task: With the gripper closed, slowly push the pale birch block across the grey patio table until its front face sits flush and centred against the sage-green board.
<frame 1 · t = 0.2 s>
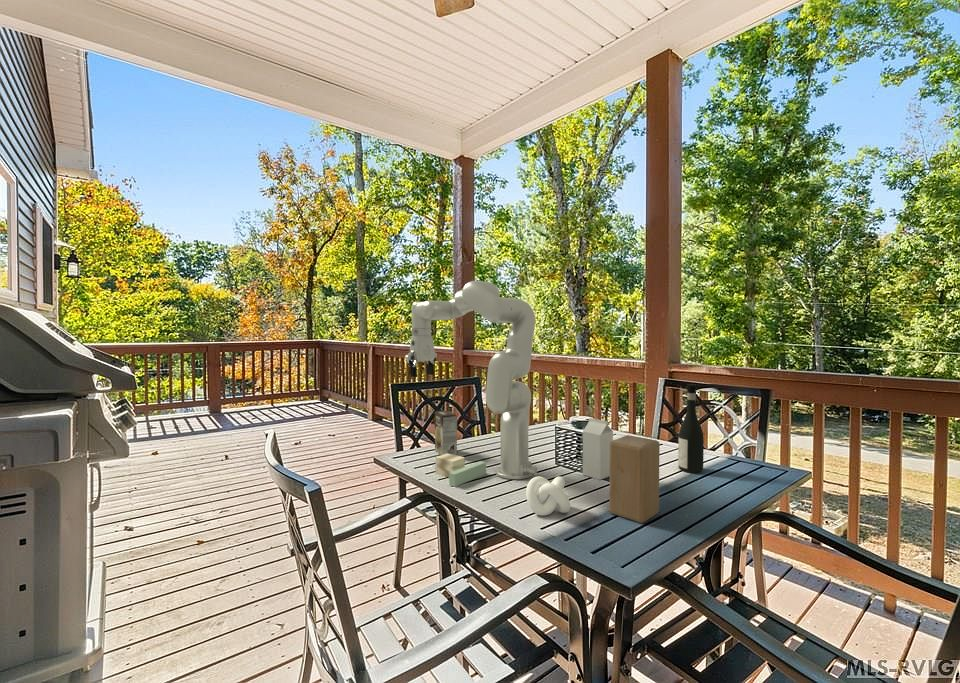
hand: (421, 375, 183), 31 cm above the table, tool pointing down, fingers open, 9 cm apart
pretzel: (549, 510, 127), on the table
wine bottle: (690, 470, 160), on the table
milk carton: (597, 475, 155), on the table
birch block: (450, 474, 157), on the table
board: (468, 479, 152), on the table
wooden block: (634, 514, 124), on the table
coffee box: (445, 453, 183), on the table
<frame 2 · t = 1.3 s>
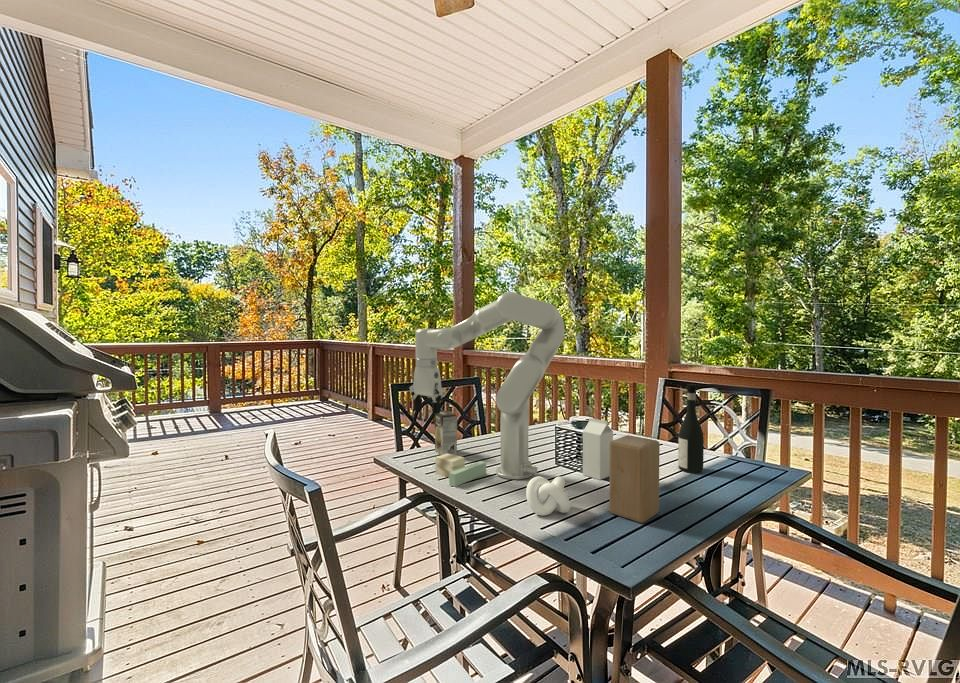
hand: (427, 411, 163), 20 cm above the table, tool pointing down, fingers open, 8 cm apart
nothing on the table moved.
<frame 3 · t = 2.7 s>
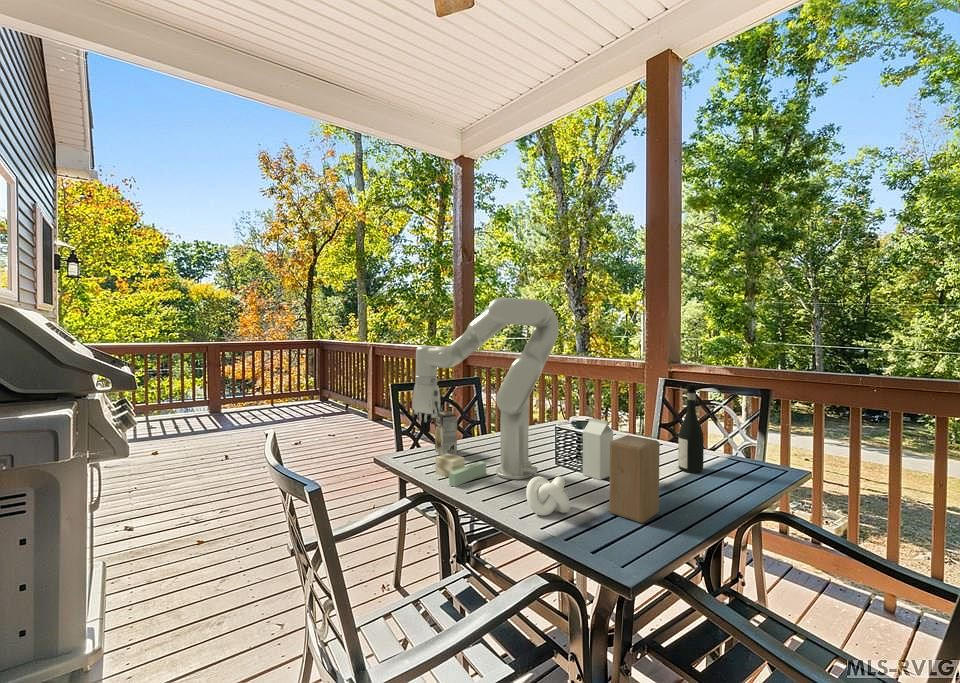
hand: (425, 432, 163), 13 cm above the table, tool pointing down, fingers closed
nothing on the table moved.
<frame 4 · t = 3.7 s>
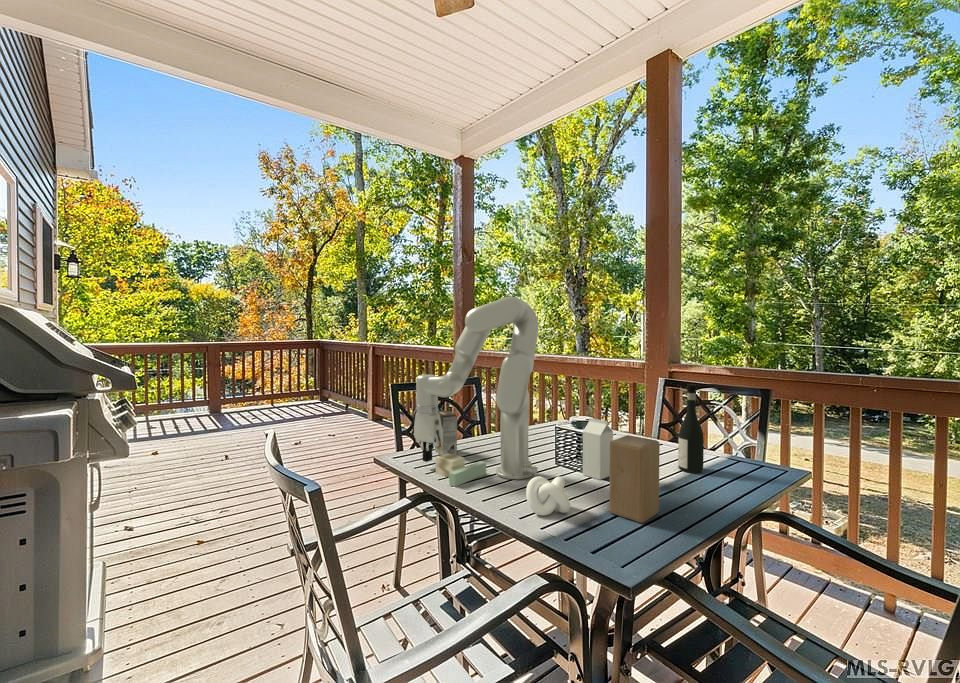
hand: (427, 460, 164), 3 cm above the table, tool pointing down, fingers closed
nothing on the table moved.
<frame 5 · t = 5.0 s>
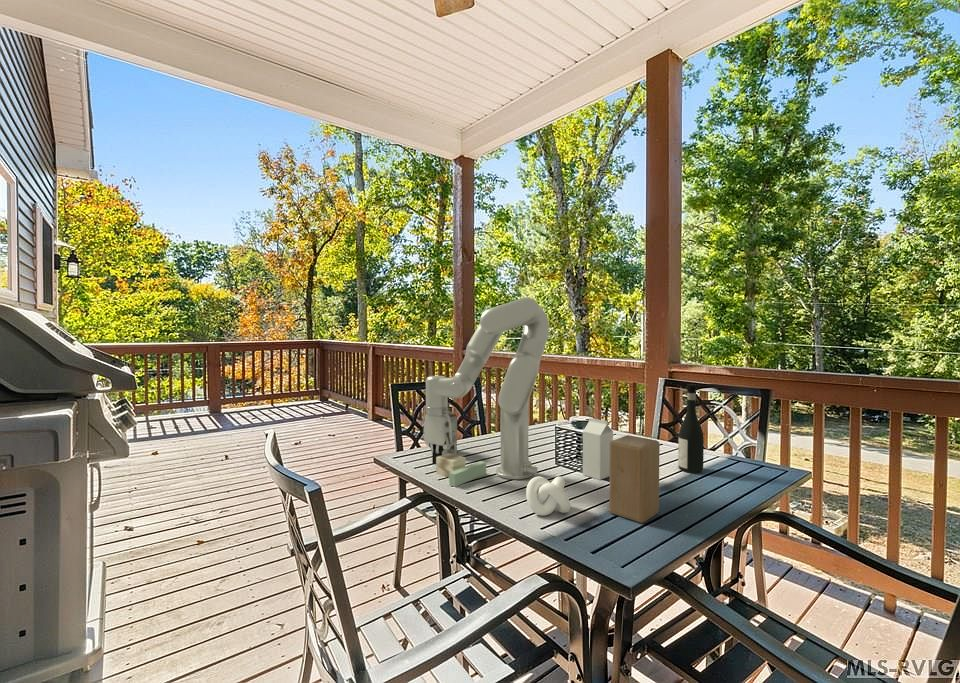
hand: (437, 463, 161), 3 cm above the table, tool pointing down, fingers closed
birch block: (450, 474, 157), on the table, touching gripper
everything else where it was.
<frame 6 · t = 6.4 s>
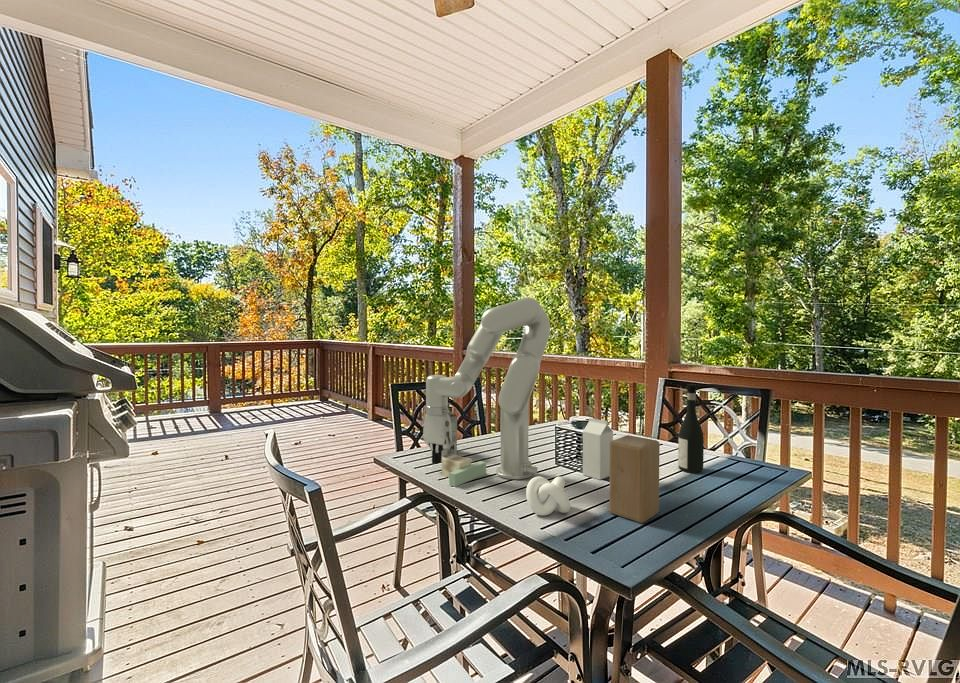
hand: (436, 462, 160), 3 cm above the table, tool pointing down, fingers closed
birch block: (456, 476, 155), on the table
everything else where it was.
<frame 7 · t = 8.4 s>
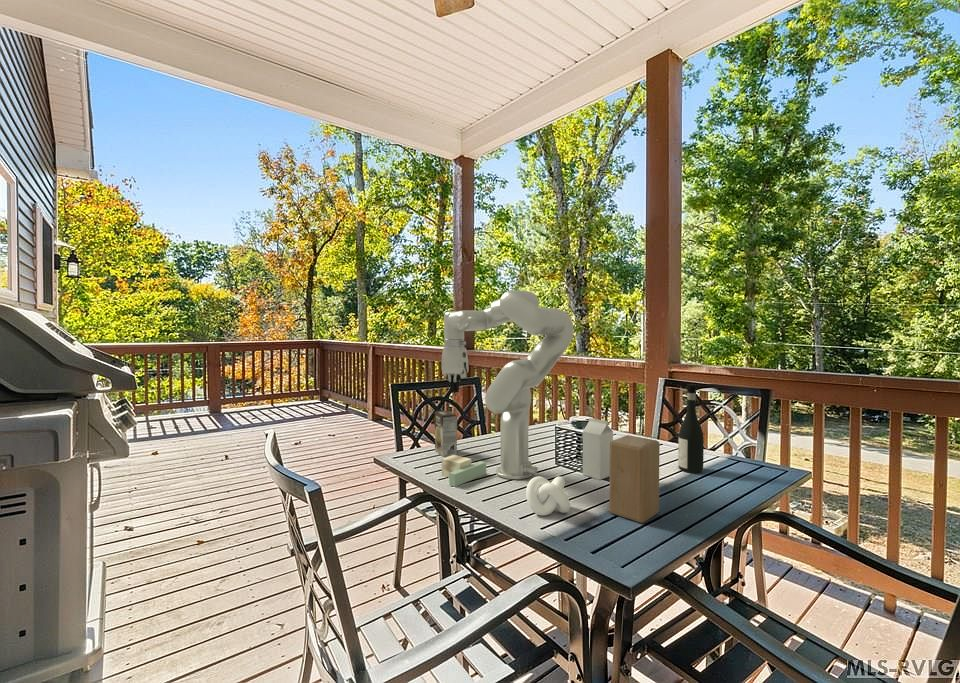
hand: (454, 392, 174), 25 cm above the table, tool pointing down, fingers closed
nothing on the table moved.
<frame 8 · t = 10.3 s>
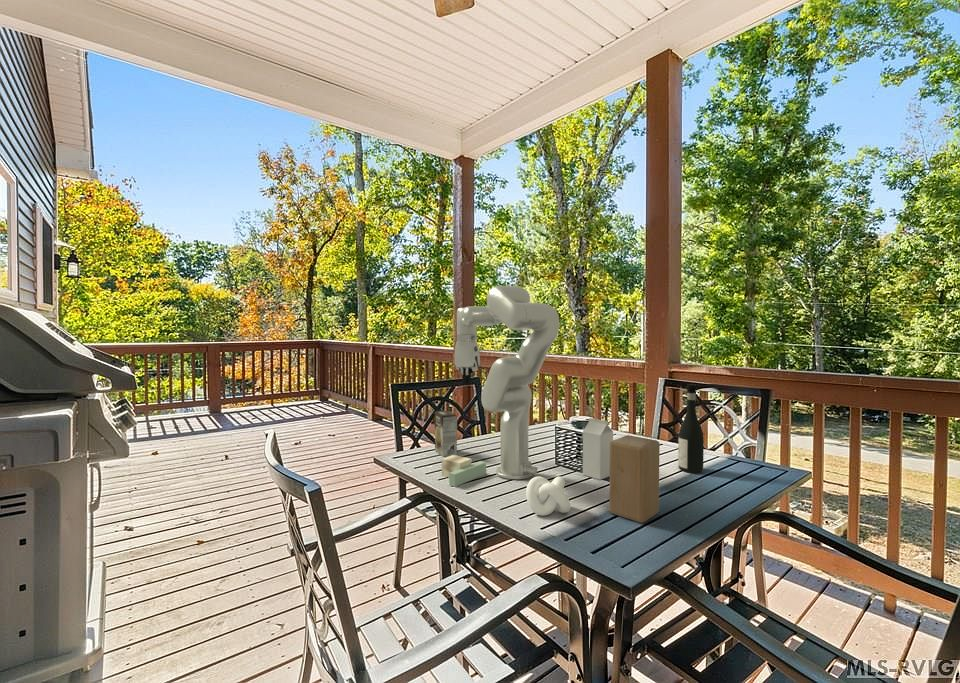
hand: (466, 384, 183), 27 cm above the table, tool pointing down, fingers closed
nothing on the table moved.
at the end: birch block 0.6 cm from the target spot on the table beside the board, on the table; birch block tilted 0° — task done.
